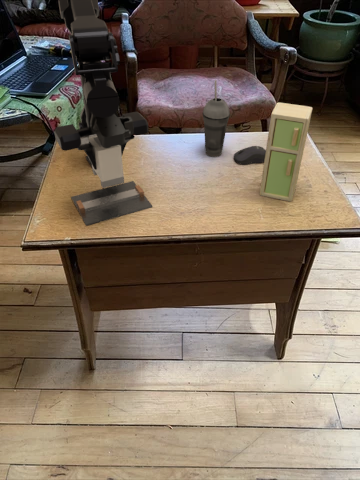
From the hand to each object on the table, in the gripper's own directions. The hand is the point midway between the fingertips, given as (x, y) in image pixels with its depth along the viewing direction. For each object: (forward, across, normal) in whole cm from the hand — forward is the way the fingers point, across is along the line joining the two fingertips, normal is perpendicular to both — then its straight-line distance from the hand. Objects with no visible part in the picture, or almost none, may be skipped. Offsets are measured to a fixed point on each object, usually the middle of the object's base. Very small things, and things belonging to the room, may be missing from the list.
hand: (106, 165), depth 91 cm
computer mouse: (+10, +41, +2) cm, 43 cm away
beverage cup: (+10, +34, +10) cm, 37 cm away
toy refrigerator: (+10, +38, -14) cm, 42 cm away
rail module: (+3, 0, 0) cm, 3 cm away
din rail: (+10, 0, 0) cm, 10 cm away
